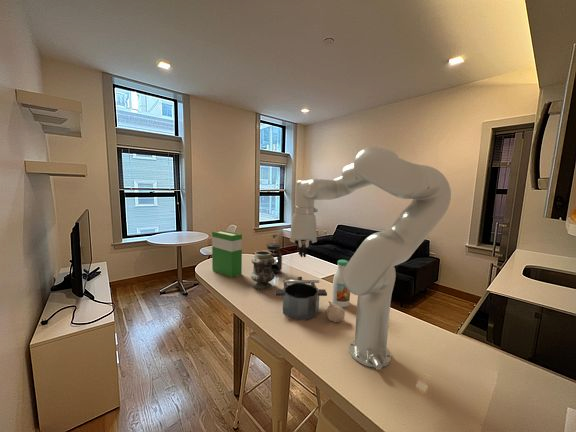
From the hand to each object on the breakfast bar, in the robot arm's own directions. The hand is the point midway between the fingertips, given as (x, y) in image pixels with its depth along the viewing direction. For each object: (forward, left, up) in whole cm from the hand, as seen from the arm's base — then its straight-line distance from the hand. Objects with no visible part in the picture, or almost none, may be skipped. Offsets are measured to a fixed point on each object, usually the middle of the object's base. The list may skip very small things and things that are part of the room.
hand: (302, 256), depth 98 cm
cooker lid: (+2, 0, -12) cm, 13 cm away
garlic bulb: (-7, -13, -24) cm, 28 cm away
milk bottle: (+7, -19, -24) cm, 31 cm away
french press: (+47, +11, -24) cm, 54 cm away
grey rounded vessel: (+26, +17, -24) cm, 39 cm away
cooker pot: (+1, 0, -24) cm, 24 cm away
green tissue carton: (+46, +39, -24) cm, 65 cm away
